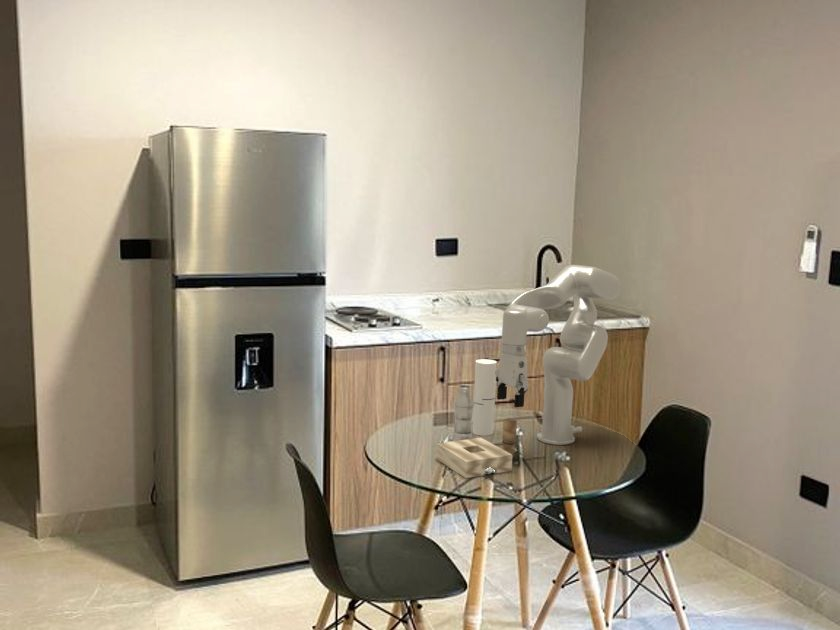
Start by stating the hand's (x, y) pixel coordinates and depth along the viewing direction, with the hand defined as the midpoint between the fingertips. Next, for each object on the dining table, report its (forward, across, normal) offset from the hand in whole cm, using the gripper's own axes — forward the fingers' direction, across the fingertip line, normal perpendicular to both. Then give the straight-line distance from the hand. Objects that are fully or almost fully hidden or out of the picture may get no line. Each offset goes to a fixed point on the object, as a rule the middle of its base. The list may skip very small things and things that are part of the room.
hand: (510, 402), depth 266 cm
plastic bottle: (+18, +15, +7) cm, 25 cm away
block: (+18, -2, +13) cm, 22 cm away
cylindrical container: (+18, +25, -7) cm, 32 cm away
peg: (+18, 0, -1) cm, 18 cm away
